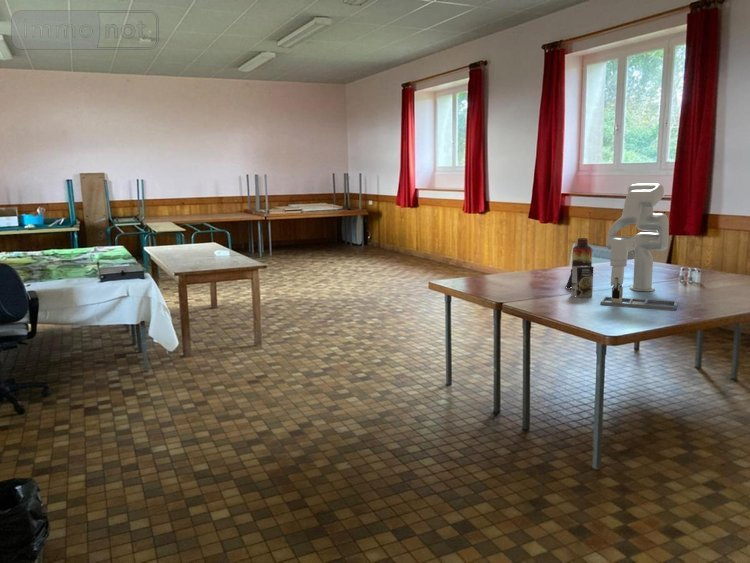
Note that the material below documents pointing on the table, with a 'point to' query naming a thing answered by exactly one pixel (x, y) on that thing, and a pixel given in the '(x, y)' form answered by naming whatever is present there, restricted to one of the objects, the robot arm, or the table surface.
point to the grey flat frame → (641, 303)
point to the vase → (582, 253)
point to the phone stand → (569, 281)
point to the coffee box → (582, 281)
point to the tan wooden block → (619, 296)
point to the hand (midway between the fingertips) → (617, 296)
